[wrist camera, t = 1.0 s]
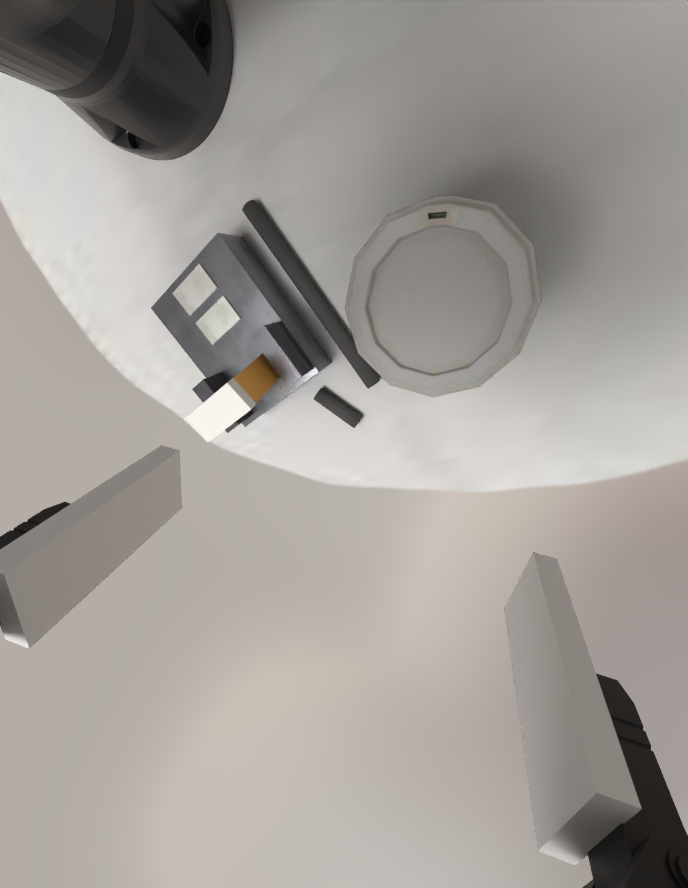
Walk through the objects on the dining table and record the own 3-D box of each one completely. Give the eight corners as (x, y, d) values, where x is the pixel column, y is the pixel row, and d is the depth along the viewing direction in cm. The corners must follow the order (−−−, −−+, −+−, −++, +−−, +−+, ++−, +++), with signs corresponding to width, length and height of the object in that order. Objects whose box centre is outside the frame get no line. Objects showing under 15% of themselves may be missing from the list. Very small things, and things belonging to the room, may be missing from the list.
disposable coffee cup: (504, 355, 34) (534, 409, 21) (382, 356, 37) (340, 404, 24) (519, 216, 30) (568, 173, 17) (381, 228, 33) (328, 200, 19)
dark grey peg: (316, 396, 40) (312, 401, 39) (323, 386, 40) (319, 390, 38) (355, 425, 40) (352, 430, 39) (363, 415, 40) (360, 419, 38)
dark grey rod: (247, 212, 35) (239, 210, 34) (258, 201, 34) (250, 198, 33) (369, 386, 38) (366, 390, 37) (380, 378, 38) (378, 381, 37)
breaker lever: (228, 380, 37) (182, 420, 30) (269, 346, 35) (229, 380, 28) (247, 400, 38) (206, 444, 31) (288, 368, 35) (253, 407, 28)
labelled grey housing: (178, 304, 40) (127, 310, 34) (241, 236, 36) (196, 229, 30) (262, 413, 43) (229, 438, 37) (331, 362, 38) (307, 380, 32)
